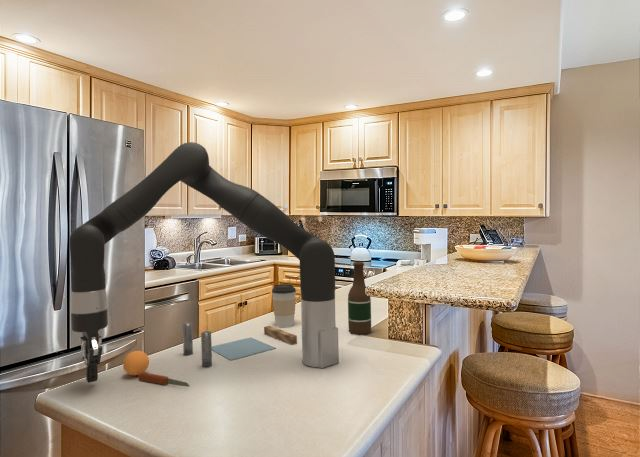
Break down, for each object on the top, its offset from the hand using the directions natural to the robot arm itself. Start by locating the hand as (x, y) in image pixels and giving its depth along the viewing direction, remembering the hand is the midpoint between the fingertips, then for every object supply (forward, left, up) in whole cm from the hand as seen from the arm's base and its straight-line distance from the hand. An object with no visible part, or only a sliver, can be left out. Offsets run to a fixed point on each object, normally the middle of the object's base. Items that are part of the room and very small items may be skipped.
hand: (92, 380), depth 94 cm
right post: (-7, -26, -1) cm, 27 cm away
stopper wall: (0, -54, -1) cm, 54 cm away
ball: (0, -10, +2) cm, 10 cm away
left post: (+6, -26, -1) cm, 27 cm away
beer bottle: (-13, -78, -1) cm, 79 cm away
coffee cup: (+13, -65, -1) cm, 66 cm away
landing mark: (0, -40, -1) cm, 40 cm away
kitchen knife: (-11, -13, -2) cm, 17 cm away
